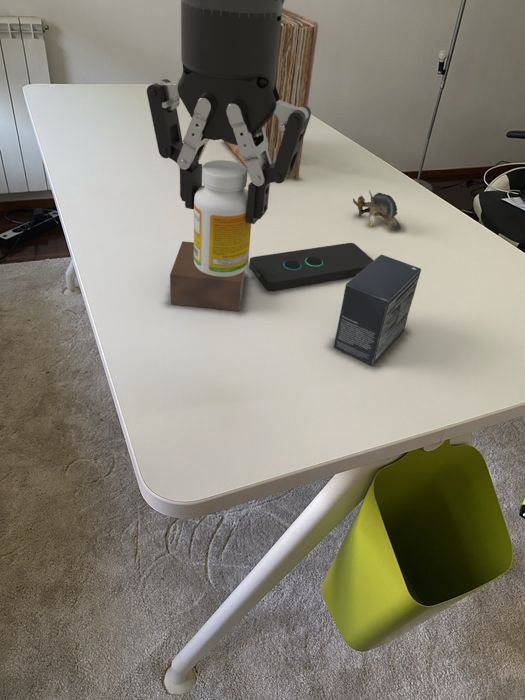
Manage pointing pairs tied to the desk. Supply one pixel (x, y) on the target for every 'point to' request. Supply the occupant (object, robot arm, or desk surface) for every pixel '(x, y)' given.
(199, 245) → the supplement bottle
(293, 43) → the book
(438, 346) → the desk surface
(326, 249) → the smart home device
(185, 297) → the walnut block
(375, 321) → the small box
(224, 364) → the desk surface
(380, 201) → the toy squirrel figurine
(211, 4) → the robot arm
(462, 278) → the desk surface
